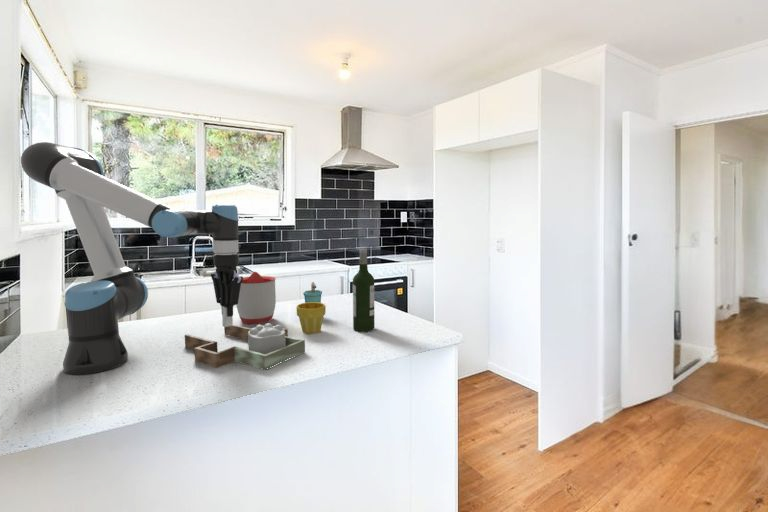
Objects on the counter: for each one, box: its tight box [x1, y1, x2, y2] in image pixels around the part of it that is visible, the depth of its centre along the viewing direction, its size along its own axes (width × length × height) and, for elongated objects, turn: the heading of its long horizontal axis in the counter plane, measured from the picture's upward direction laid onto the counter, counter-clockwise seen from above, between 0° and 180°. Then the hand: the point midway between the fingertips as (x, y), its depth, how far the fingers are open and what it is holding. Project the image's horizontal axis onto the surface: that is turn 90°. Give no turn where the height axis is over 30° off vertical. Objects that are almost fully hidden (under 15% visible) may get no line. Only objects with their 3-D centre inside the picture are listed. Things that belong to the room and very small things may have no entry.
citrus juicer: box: [236, 271, 277, 325], centre depth 160 cm, size 16×17×20 cm
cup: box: [303, 281, 323, 303], centre depth 165 cm, size 14×8×15 cm, turn 18°
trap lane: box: [184, 324, 306, 370], centre depth 127 cm, size 37×28×4 cm
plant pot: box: [296, 302, 327, 335], centre depth 146 cm, size 10×10×10 cm
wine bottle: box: [352, 248, 375, 333], centre depth 148 cm, size 8×8×30 cm
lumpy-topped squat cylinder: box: [247, 322, 286, 354], centre depth 124 cm, size 10×13×9 cm
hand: (227, 325), depth 130 cm, fingers closed
